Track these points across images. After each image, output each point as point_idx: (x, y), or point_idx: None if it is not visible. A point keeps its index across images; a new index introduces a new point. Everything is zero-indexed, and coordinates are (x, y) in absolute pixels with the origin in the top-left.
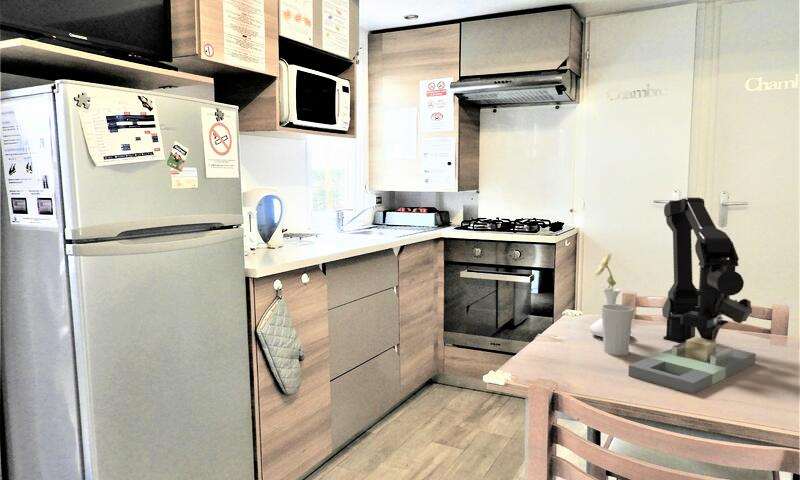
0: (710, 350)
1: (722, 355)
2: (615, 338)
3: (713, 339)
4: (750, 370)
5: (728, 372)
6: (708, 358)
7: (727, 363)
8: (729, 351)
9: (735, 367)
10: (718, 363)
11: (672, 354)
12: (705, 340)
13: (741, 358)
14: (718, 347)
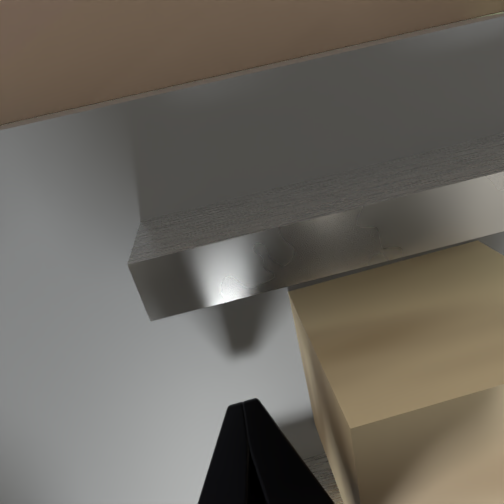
0: (461, 312)
1: (429, 180)
2: None
3: (250, 497)
4: (46, 42)
5: (432, 28)
6: (450, 258)
7: (393, 98)
8: (234, 233)
9: (281, 63)
10: (472, 140)
11: None
12: (440, 474)
13: (72, 145)
14: (7, 458)
